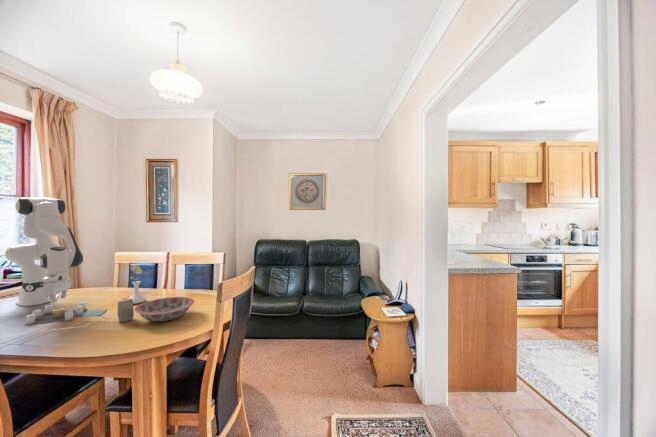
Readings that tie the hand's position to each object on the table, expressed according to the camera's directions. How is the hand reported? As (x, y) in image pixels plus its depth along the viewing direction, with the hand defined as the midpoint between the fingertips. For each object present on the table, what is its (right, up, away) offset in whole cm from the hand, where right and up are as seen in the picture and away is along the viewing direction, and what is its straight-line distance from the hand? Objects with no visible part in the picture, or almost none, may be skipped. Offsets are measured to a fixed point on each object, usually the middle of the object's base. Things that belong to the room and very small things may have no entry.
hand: (58, 300), depth 157 cm
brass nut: (-1, -9, 0) cm, 9 cm away
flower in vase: (+24, -10, +28) cm, 38 cm away
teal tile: (+14, -10, +6) cm, 19 cm away
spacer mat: (-1, -10, 0) cm, 10 cm away
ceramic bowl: (+60, -11, +1) cm, 61 cm away
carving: (+40, -11, -3) cm, 42 cm away
